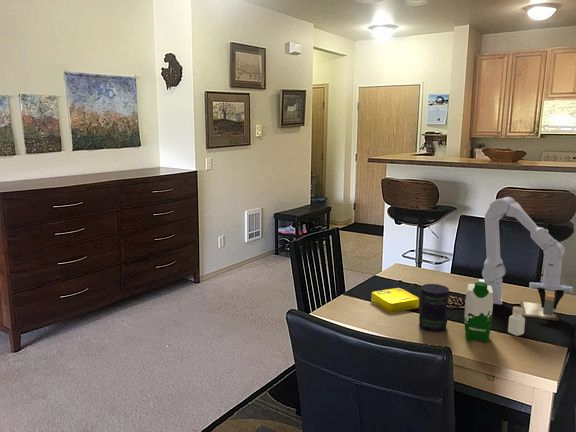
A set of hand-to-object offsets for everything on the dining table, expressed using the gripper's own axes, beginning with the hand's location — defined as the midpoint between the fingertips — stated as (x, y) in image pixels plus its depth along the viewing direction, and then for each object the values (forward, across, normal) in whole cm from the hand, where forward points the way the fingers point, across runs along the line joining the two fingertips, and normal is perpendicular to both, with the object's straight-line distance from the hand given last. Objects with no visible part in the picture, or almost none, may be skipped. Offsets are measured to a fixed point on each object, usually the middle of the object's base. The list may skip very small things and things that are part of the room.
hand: (548, 307), depth 185 cm
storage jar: (+3, -41, -28) cm, 50 cm away
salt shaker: (+3, -13, -23) cm, 27 cm away
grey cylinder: (+2, 0, 0) cm, 2 cm away
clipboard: (+3, -3, +3) cm, 5 cm away
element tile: (+4, -58, -10) cm, 58 cm away
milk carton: (+3, -26, -31) cm, 41 cm away
